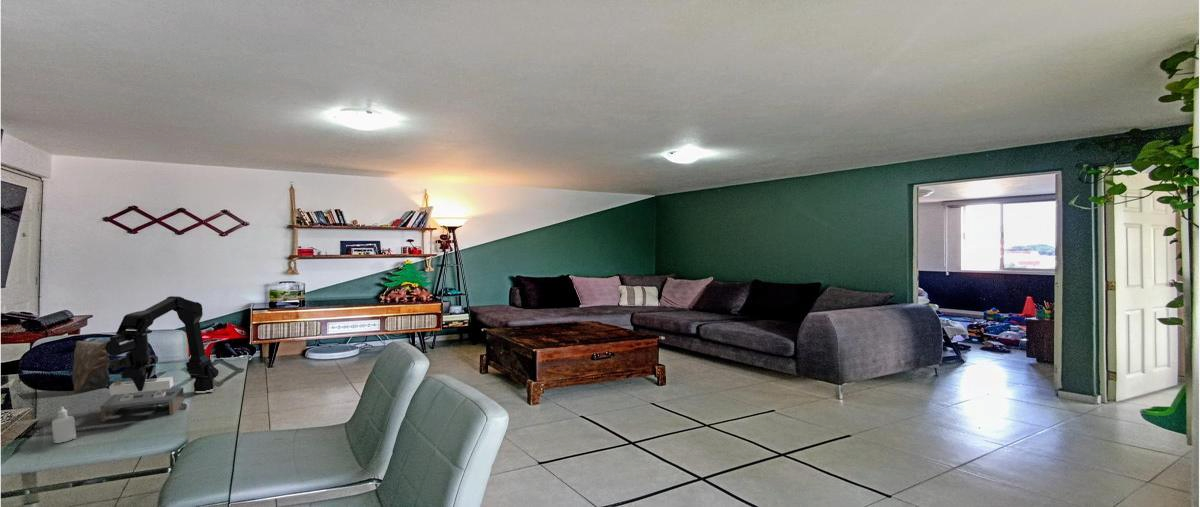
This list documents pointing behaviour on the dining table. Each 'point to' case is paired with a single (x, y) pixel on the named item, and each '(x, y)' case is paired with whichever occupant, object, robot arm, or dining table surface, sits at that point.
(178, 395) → the keyhole board
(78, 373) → the brown paper bag
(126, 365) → the robot arm
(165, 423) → the dining table surface
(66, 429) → the eye dropper bottle
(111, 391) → the power strip
